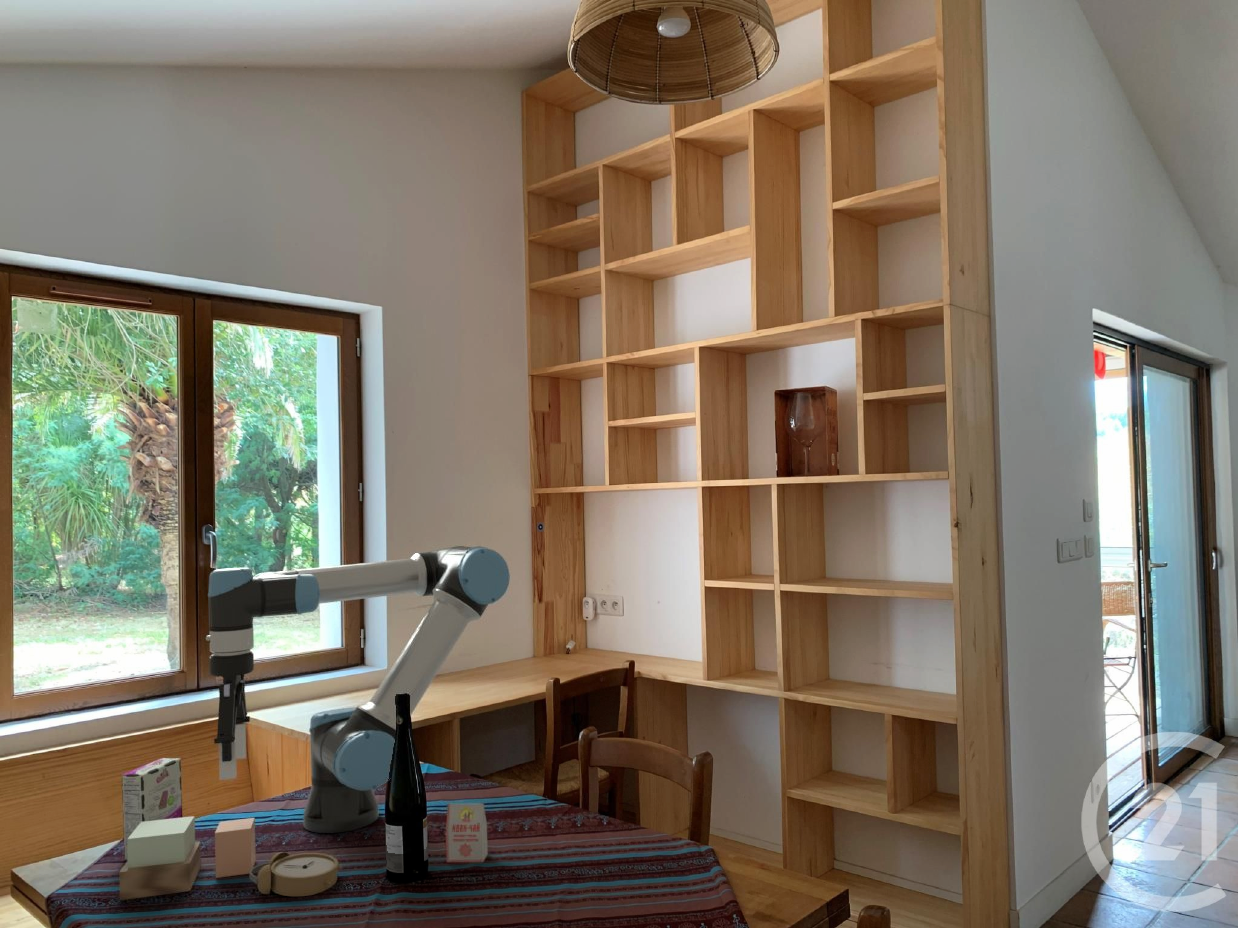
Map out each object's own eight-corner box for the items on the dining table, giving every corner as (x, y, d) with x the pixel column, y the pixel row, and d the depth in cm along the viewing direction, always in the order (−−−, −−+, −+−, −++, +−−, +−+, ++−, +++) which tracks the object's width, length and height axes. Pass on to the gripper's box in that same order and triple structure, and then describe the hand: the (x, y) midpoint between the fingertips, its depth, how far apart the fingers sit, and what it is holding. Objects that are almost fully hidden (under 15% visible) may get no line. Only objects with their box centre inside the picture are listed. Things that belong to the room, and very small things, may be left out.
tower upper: (194, 843, 169) (194, 815, 169) (184, 861, 160) (184, 832, 160) (141, 849, 167) (141, 821, 167) (127, 868, 158) (127, 838, 158)
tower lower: (201, 868, 170) (200, 841, 170) (190, 892, 159) (189, 863, 159) (135, 876, 167) (135, 848, 167) (119, 901, 156) (119, 871, 157)
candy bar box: (162, 839, 185) (160, 756, 186) (184, 840, 184) (182, 757, 185) (121, 860, 174) (120, 773, 175) (144, 862, 173) (143, 774, 174)
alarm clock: (328, 879, 155) (240, 867, 155) (324, 908, 155) (236, 896, 155) (347, 854, 166) (265, 842, 166) (343, 881, 166) (261, 869, 166)
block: (255, 860, 172) (254, 817, 172) (251, 873, 166) (250, 828, 166) (220, 865, 170) (220, 821, 171) (215, 877, 165) (214, 832, 165)
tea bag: (452, 854, 172) (450, 800, 172) (487, 854, 171) (486, 799, 171) (446, 862, 168) (445, 806, 168) (482, 862, 167) (481, 806, 168)
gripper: (220, 644, 181) (221, 753, 180) (197, 664, 157) (199, 790, 156) (260, 641, 183) (262, 749, 182) (244, 661, 159) (246, 785, 158)
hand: (233, 768), depth 169 cm, fingers open, 13 cm apart
